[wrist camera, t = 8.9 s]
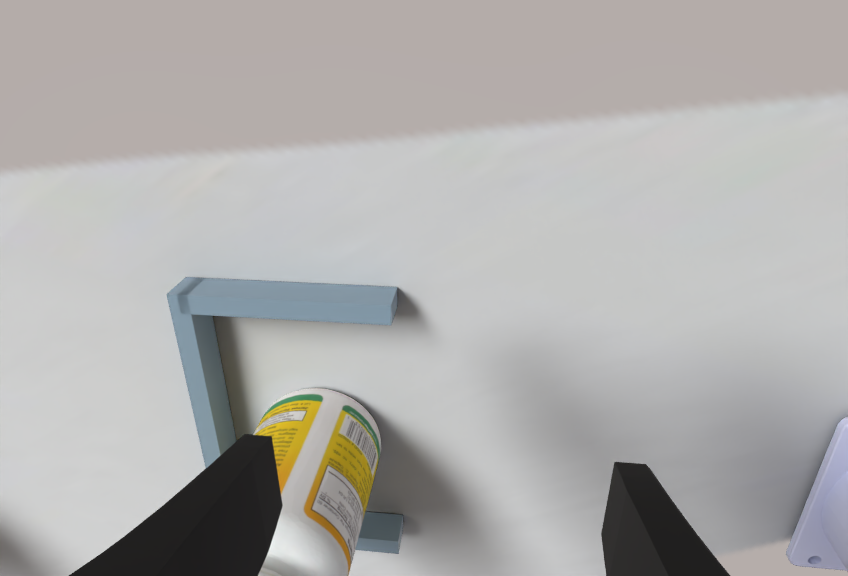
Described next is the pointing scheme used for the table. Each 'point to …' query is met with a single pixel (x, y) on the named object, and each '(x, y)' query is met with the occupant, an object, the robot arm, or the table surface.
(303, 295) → the blue-grey u-shaped bracket
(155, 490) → the table surface
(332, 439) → the supplement bottle
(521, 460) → the table surface
